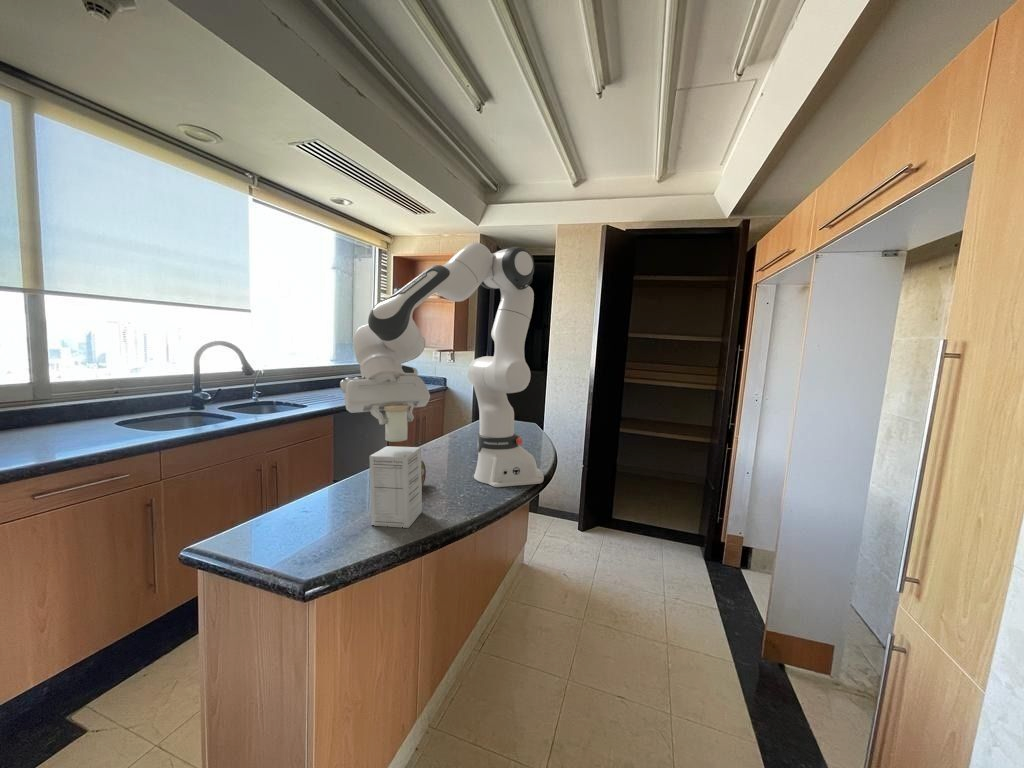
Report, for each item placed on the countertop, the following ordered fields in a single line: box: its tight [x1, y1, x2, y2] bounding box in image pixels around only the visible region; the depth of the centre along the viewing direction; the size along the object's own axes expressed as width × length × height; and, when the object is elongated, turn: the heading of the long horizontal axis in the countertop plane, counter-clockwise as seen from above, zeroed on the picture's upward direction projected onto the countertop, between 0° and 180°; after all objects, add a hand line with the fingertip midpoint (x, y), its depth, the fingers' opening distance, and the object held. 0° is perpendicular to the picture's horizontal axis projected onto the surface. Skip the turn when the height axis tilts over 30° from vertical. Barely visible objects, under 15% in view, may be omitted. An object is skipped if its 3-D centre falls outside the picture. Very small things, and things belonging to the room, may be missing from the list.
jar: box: [383, 404, 408, 443], centre depth 90 cm, size 5×5×8 cm
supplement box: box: [368, 445, 423, 529], centre depth 91 cm, size 10×9×17 cm
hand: (397, 421), depth 89 cm, fingers closed on jar, 5 cm apart
